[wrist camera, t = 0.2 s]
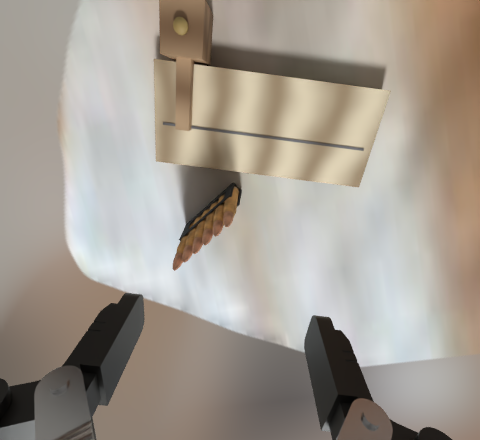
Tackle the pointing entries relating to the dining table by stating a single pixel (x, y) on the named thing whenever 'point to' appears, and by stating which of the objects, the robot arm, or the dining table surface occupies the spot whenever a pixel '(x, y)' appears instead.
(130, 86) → the dining table surface
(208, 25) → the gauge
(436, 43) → the dining table surface
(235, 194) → the ammunition clip
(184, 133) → the board
